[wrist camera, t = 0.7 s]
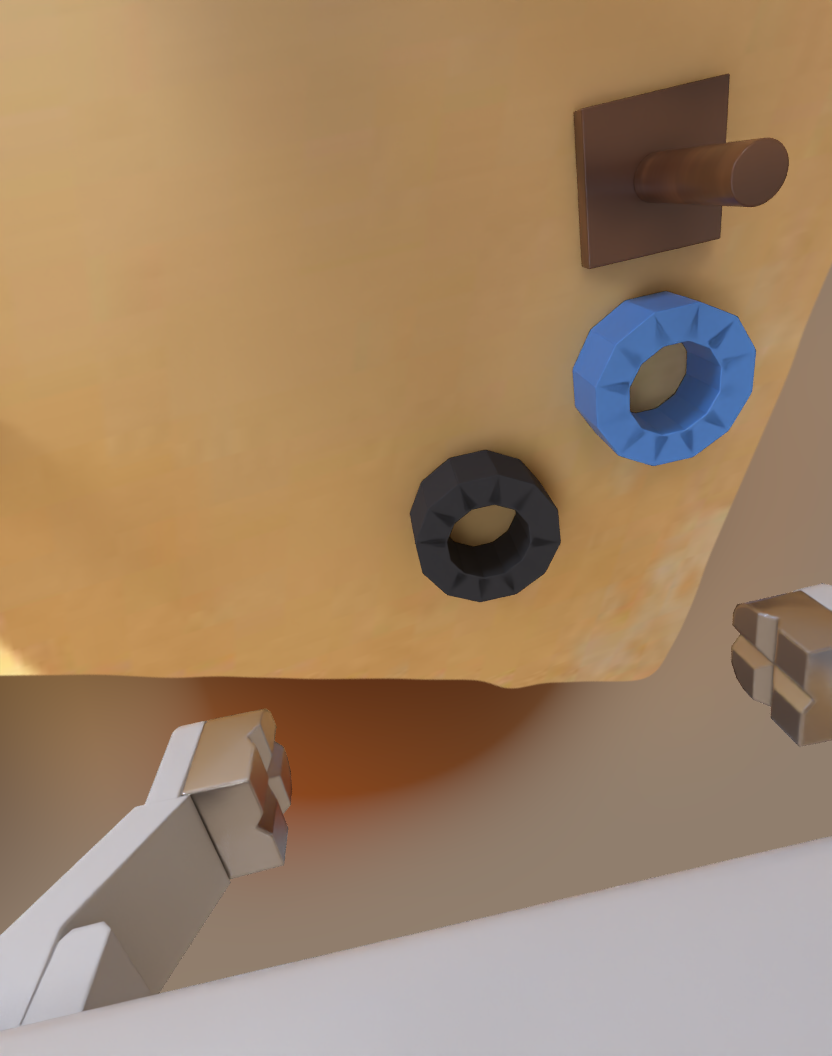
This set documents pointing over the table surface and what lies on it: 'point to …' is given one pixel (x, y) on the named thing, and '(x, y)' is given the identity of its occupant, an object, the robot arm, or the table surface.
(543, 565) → the ring
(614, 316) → the blue tape
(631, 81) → the table surface
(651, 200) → the wooden stand
